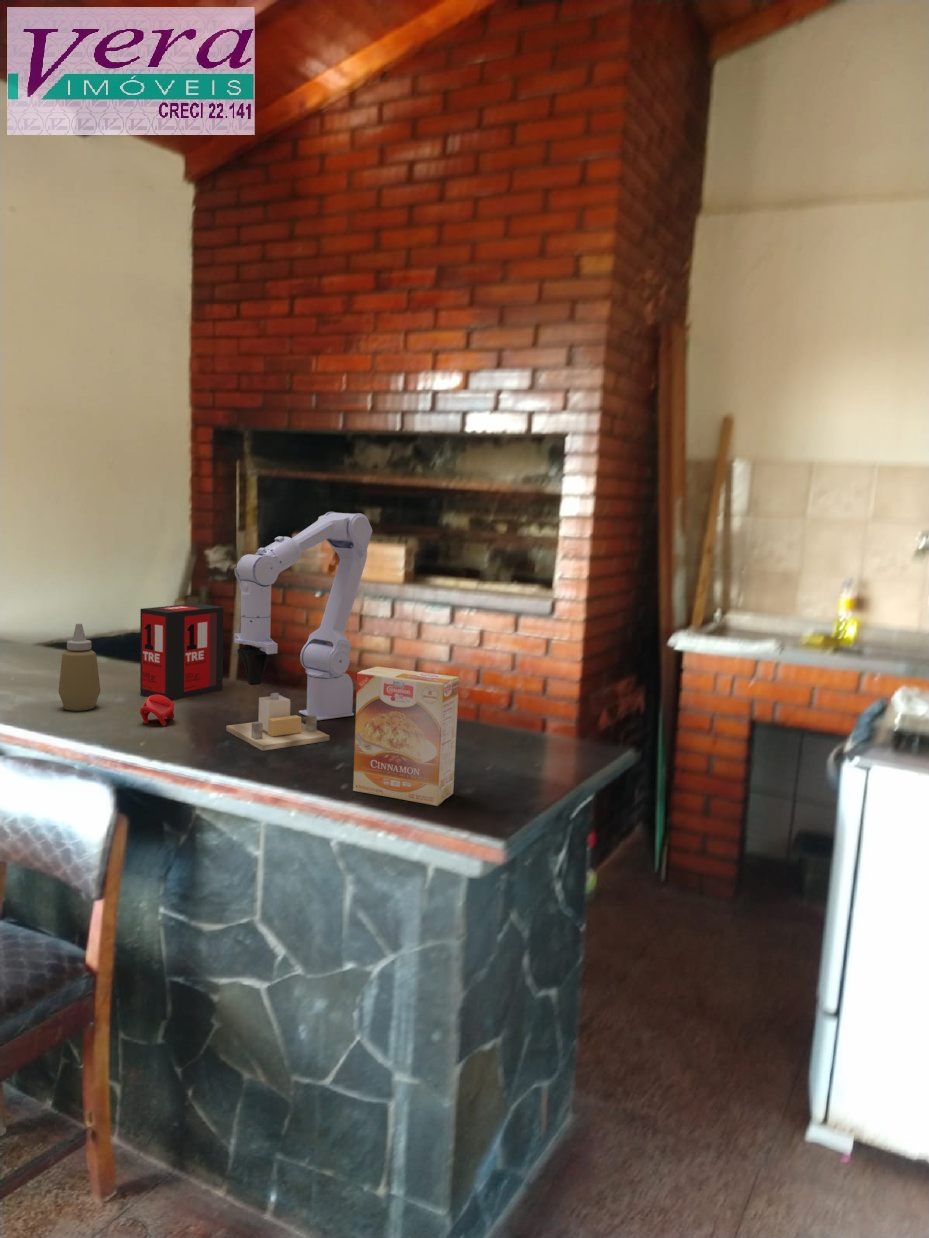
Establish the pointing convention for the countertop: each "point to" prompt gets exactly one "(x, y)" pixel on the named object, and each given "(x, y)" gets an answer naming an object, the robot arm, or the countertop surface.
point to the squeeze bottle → (79, 674)
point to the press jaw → (284, 725)
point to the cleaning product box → (181, 650)
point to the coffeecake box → (405, 734)
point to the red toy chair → (157, 708)
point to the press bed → (264, 741)
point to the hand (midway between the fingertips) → (254, 684)
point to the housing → (273, 708)
